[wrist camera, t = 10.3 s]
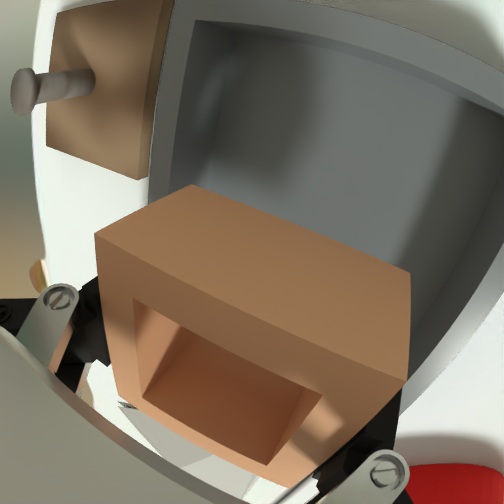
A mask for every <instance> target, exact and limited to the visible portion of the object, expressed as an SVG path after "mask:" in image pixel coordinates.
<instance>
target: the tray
mask: <svg viewBox="0 0 504 504" xmlns="http://www.w3.org/2000/svg"><path fill="white" fill-rule="evenodd" d="M191 184H192V185H195V186H198V187H201V188H203V189H206V190H209V191H211V192H214V193H217V194H219V195H222V196H225V197H227V198H230V199H233V200H235V201H238V202H241V203H243V204H246V205H248V206H251V207H254V208H256V209H259V210H261V211H264V212H266V213H269V214H271V215H274V216H276V217H279V218H282V219H284V220H287V221H289V222H292V223H294V224H297V225H299V226H301V227H304V228H306V229H309V230H311V231H314V232H316V233H319V234H321V235H323V236H326V237H328V238H331V239H333V240H335V241H338V242H340V243H343V244H345V245H347V246H350V247H352V248H354V249H357V250H359V251H361V252H364V253H366V254H368V255H371V256H373V257H375V258H378V259H380V260H382V261H384V262H387V263H389V264H391V265H393V266H396V267H398V268H400V269H402V270H405V271H407V272H409V273H410V282H411V317H410V345H409V362H408V374H407V382H406V383H405V384H404V385H403V388H402V396H401V404H400V411H399V416H400V415H401V414H402V413H403V412H404V411H405V410H406V409H407V408H408V407H409V406H410V405H411V404H412V403H413V402H414V401H415V400H416V399H417V398H418V397H419V396H420V395H421V394H422V393H423V392H424V391H425V390H426V389H427V388H428V387H429V386H430V385H431V384H432V383H433V382H434V381H435V379H436V378H437V377H438V376H439V375H440V374H441V373H442V372H443V371H444V369H445V368H446V367H447V366H448V365H449V364H450V363H451V361H452V360H453V359H454V358H455V357H456V356H457V354H458V353H459V352H460V351H461V349H462V348H463V347H464V346H465V345H466V343H467V342H468V341H469V339H470V338H471V337H472V336H473V334H474V333H475V332H476V330H477V329H478V328H479V326H480V325H481V324H482V322H483V321H484V320H485V318H486V317H487V315H488V314H489V313H490V311H491V310H492V308H493V307H494V305H495V304H496V303H497V301H498V300H499V298H500V297H501V295H502V294H503V292H504V73H502V72H501V71H499V70H497V69H495V68H494V67H492V66H490V65H488V64H486V63H484V62H483V61H481V60H479V59H477V58H475V57H473V56H471V55H469V54H467V53H465V52H463V51H461V50H458V49H456V48H454V47H452V46H450V45H447V44H445V43H443V42H440V41H438V40H436V39H433V38H431V37H428V36H426V35H423V34H421V33H418V32H415V31H413V30H410V29H407V28H404V27H401V26H398V25H395V24H392V23H389V22H386V21H383V20H379V19H376V18H373V17H369V16H365V15H362V14H358V13H354V12H350V11H346V10H341V9H337V8H332V7H328V6H323V5H317V4H312V3H306V2H300V1H293V0H176V4H175V8H174V13H173V17H172V22H171V27H170V32H169V37H168V42H167V47H166V52H165V58H164V64H163V70H162V76H161V82H160V89H159V95H158V103H157V110H156V118H155V126H154V135H153V145H152V155H151V166H150V179H149V193H148V205H149V204H151V203H153V202H155V201H157V200H159V199H161V198H164V197H166V196H168V195H170V194H172V193H174V192H176V191H178V190H180V189H182V188H185V187H187V186H189V185H191Z"/></svg>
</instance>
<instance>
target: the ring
mask: <svg viewBox="0 0 504 504" xmlns="http://www.w3.org/2000/svg"><path fill="white" fill-rule="evenodd" d="M94 238H95V252H96V263H97V274H98V283H99V291H100V299H101V306H102V313H103V320H104V326H105V332H106V338H107V344H108V349H109V354H110V359H111V364H112V369H113V374H114V378H115V383H116V387H117V391H118V395H119V396H120V397H121V398H123V399H124V400H126V401H127V402H128V403H130V404H131V405H133V406H134V407H136V408H137V409H139V410H140V411H142V412H143V413H145V414H146V415H148V416H149V417H151V418H152V419H154V420H155V421H157V422H158V423H160V424H162V425H163V426H165V427H166V428H168V429H170V430H171V431H173V432H175V433H176V434H178V435H180V436H181V437H183V438H185V439H186V440H188V441H190V442H192V443H193V444H195V445H197V446H199V447H201V448H203V449H204V450H206V451H208V452H210V453H212V454H214V455H216V456H218V457H220V458H222V459H224V460H226V461H228V462H230V463H232V464H234V465H236V466H238V467H240V468H242V469H244V470H246V471H249V472H251V473H253V474H255V475H258V476H260V477H262V478H264V479H267V480H269V481H272V482H274V483H276V484H279V485H281V486H284V487H287V488H289V489H290V488H291V487H293V486H294V485H295V484H297V483H298V482H299V481H301V480H302V479H303V478H305V477H306V476H307V475H308V474H310V473H311V472H312V471H314V470H315V469H316V468H317V467H319V466H320V465H321V464H322V463H323V462H325V461H326V460H327V459H328V458H329V457H331V456H332V455H333V454H334V453H335V452H336V451H338V450H339V449H340V448H341V447H342V446H343V445H344V444H346V443H347V442H348V441H349V440H350V439H351V438H352V437H353V436H354V435H355V434H357V433H358V432H359V431H360V430H361V429H362V428H363V427H364V426H365V425H366V424H367V423H368V422H369V421H370V420H371V419H372V418H373V417H374V416H375V415H376V414H377V413H378V412H379V411H380V410H381V409H382V408H383V407H384V406H385V405H386V404H387V403H388V402H389V401H390V400H391V399H392V398H393V396H394V395H395V394H396V393H397V392H398V391H399V390H400V389H401V388H402V387H403V385H404V384H405V383H406V382H407V374H408V362H409V345H410V317H411V282H410V273H409V272H407V271H405V270H402V269H400V268H398V267H396V266H393V265H391V264H389V263H387V262H384V261H382V260H380V259H378V258H375V257H373V256H371V255H368V254H366V253H364V252H361V251H359V250H357V249H354V248H352V247H350V246H347V245H345V244H343V243H340V242H338V241H335V240H333V239H331V238H328V237H326V236H323V235H321V234H319V233H316V232H314V231H311V230H309V229H306V228H304V227H301V226H299V225H297V224H294V223H292V222H289V221H287V220H284V219H282V218H279V217H276V216H274V215H271V214H269V213H266V212H264V211H261V210H259V209H256V208H254V207H251V206H248V205H246V204H243V203H241V202H238V201H235V200H233V199H230V198H227V197H225V196H222V195H219V194H217V193H214V192H211V191H209V190H206V189H203V188H201V187H198V186H195V185H192V184H191V185H189V186H187V187H185V188H182V189H180V190H178V191H176V192H174V193H172V194H170V195H168V196H166V197H164V198H161V199H159V200H157V201H155V202H153V203H151V204H149V205H147V206H145V207H143V208H141V209H139V210H137V211H135V212H133V213H131V214H129V215H128V216H126V217H124V218H122V219H120V220H118V221H116V222H114V223H112V224H110V225H109V226H107V227H105V228H103V229H101V230H99V231H97V232H96V233H94Z"/></svg>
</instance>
